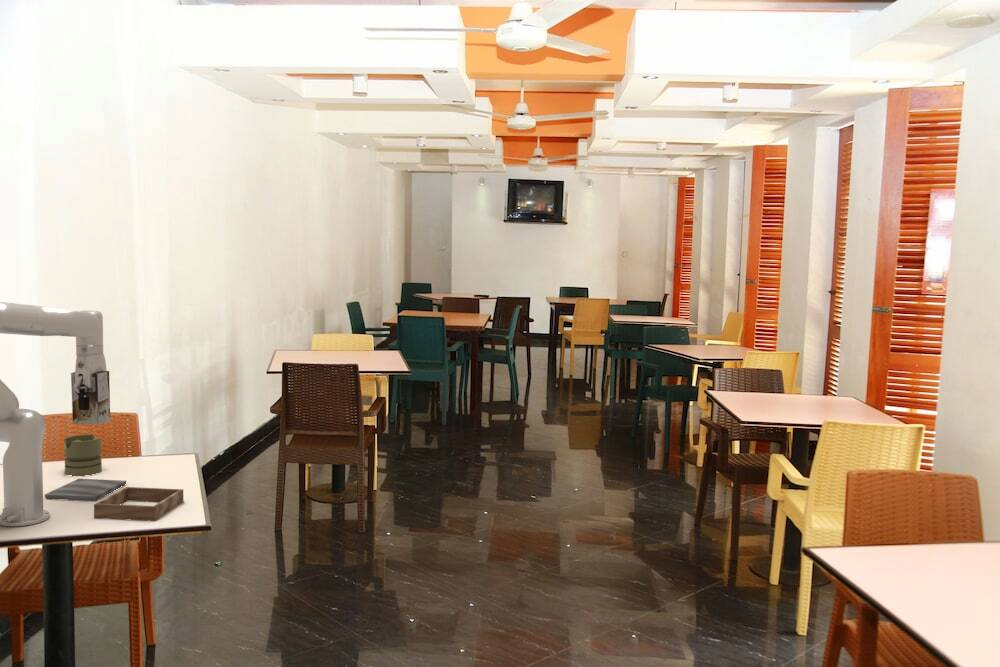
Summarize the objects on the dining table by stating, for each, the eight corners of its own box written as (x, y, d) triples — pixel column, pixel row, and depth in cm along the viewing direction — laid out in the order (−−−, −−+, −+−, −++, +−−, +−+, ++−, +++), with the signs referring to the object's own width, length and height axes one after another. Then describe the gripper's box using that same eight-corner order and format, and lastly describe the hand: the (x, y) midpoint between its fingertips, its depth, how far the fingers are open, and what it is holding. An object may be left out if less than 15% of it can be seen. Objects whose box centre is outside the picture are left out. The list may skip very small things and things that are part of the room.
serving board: (95, 501, 246) (95, 496, 246) (45, 499, 247) (44, 494, 246) (126, 485, 264) (126, 480, 263) (78, 483, 264) (78, 478, 264)
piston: (92, 433, 285) (106, 438, 277) (93, 466, 286) (107, 472, 278) (58, 437, 276) (72, 443, 269) (59, 472, 277) (73, 478, 270)
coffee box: (111, 421, 254) (110, 370, 252) (98, 425, 248) (97, 373, 246) (84, 419, 255) (83, 369, 254) (71, 423, 249) (70, 372, 247)
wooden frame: (155, 520, 229) (155, 507, 229) (94, 518, 230) (93, 504, 230) (183, 502, 247) (183, 489, 247) (126, 499, 248) (126, 486, 248)
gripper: (84, 354, 240) (85, 413, 242) (117, 347, 258) (118, 403, 259) (60, 353, 241) (62, 412, 243) (94, 347, 258) (95, 402, 260)
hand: (91, 407), depth 251 cm, fingers closed on coffee box, 6 cm apart
